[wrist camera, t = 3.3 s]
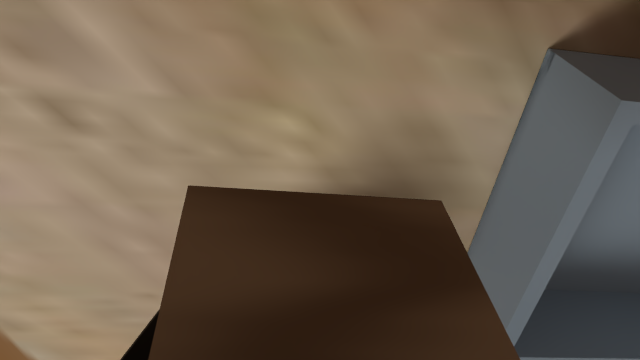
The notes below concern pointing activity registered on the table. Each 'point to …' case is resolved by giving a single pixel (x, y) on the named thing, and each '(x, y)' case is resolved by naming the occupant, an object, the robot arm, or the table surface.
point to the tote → (569, 215)
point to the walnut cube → (322, 281)
